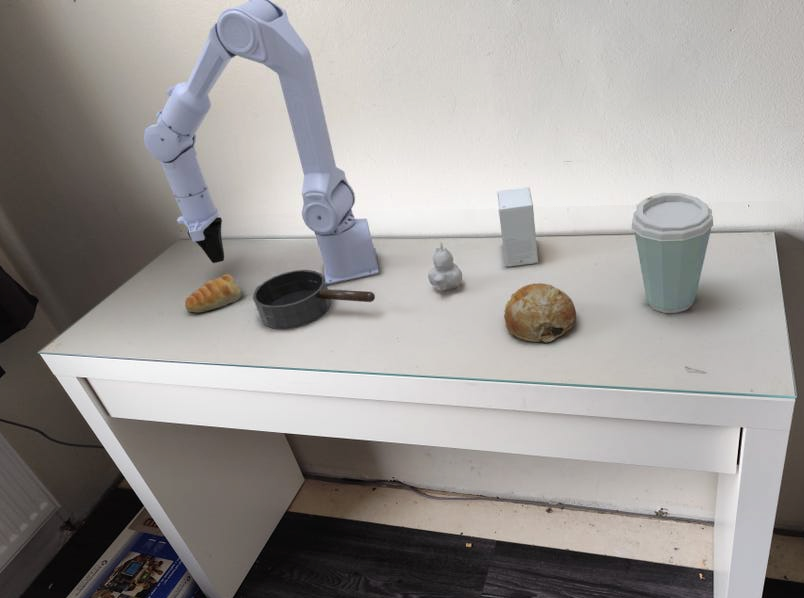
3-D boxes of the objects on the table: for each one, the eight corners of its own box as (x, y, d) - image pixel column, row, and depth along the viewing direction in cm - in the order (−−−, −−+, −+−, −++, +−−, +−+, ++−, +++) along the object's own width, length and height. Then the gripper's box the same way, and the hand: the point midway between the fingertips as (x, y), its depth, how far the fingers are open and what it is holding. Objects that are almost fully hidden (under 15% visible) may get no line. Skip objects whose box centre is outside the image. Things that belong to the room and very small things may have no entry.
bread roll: (523, 367, 96) (532, 336, 89) (488, 314, 100) (494, 280, 93) (581, 341, 98) (593, 310, 92) (544, 291, 103) (553, 257, 96)
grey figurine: (468, 278, 111) (461, 235, 107) (456, 299, 106) (449, 255, 102) (437, 278, 113) (429, 235, 108) (425, 298, 108) (416, 254, 103)
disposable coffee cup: (724, 303, 95) (734, 204, 86) (667, 332, 91) (672, 232, 83) (669, 276, 103) (673, 183, 94) (615, 302, 99) (614, 208, 90)
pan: (330, 285, 116) (324, 264, 114) (332, 319, 107) (325, 297, 104) (263, 299, 116) (255, 278, 113) (258, 336, 106) (250, 313, 104)
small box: (538, 264, 112) (533, 205, 106) (505, 268, 112) (498, 209, 106) (535, 242, 118) (530, 185, 112) (503, 246, 119) (497, 190, 113)
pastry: (195, 320, 113) (186, 301, 111) (182, 307, 118) (173, 288, 115) (246, 297, 117) (239, 278, 115) (231, 285, 122) (224, 267, 120)
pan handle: (317, 300, 107) (315, 292, 106) (322, 295, 108) (320, 286, 107) (373, 304, 104) (371, 295, 103) (377, 298, 105) (375, 290, 104)
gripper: (174, 181, 121) (202, 248, 129) (159, 211, 110) (191, 283, 118) (213, 173, 122) (238, 240, 130) (202, 202, 110) (231, 274, 118)
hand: (218, 260), depth 124 cm, fingers closed
